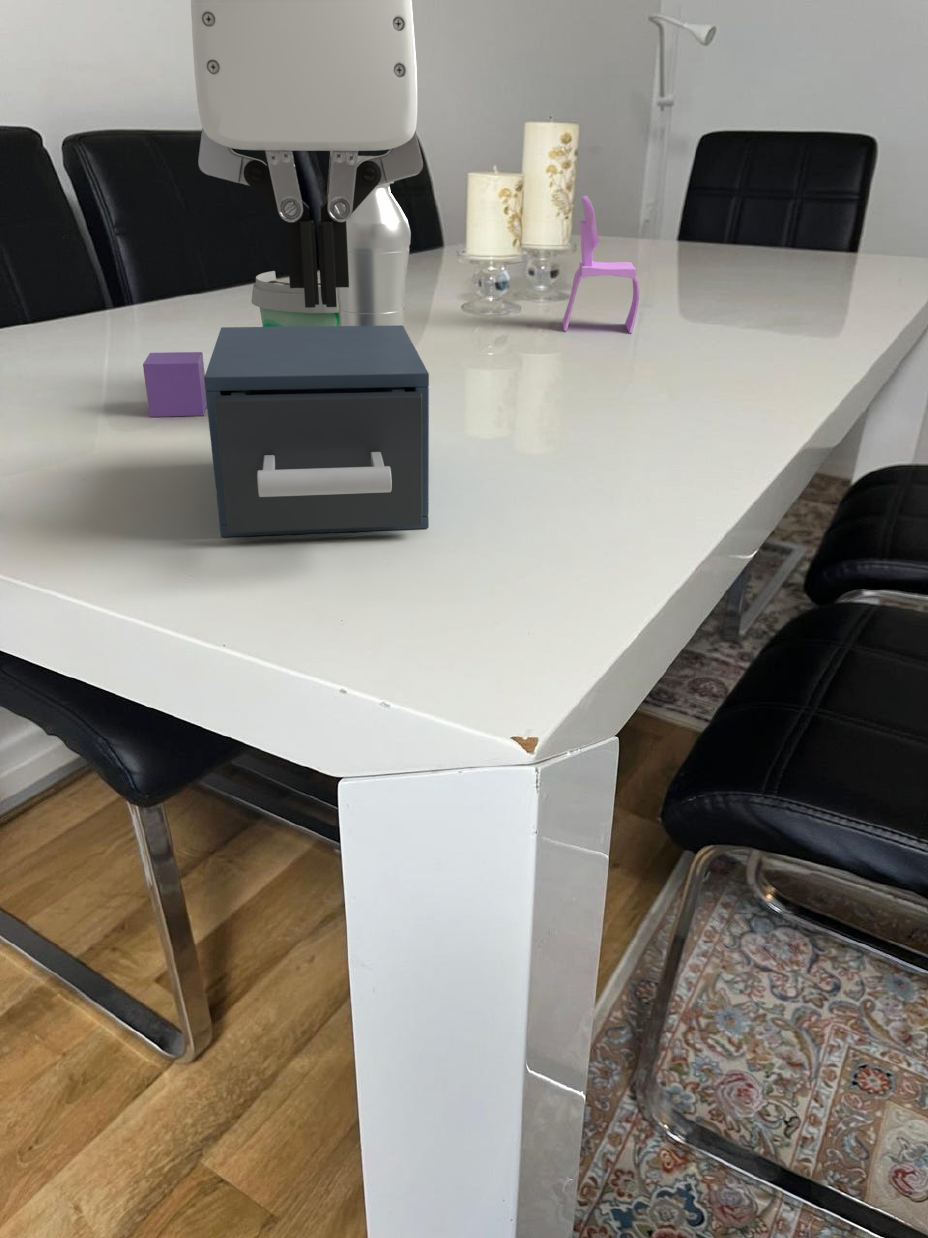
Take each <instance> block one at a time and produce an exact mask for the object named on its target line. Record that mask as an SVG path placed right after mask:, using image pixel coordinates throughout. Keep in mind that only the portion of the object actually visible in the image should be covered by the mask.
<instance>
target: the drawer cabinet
mask: <svg viewBox="0 0 928 1238" xmlns="http://www.w3.org/2000/svg"><path fill="white" fill-rule="evenodd" d="M204 382H205V390H206V401H207V406H206V409H207V418H208V427H209V437H210V444H211V445H210V447H211V456H212V465H213V477H214V484H215V485H214V486H215V493H216V494H215V495H216V503H217V514H218V523H219V532H220V537H221V538H226V537H227V538H228V537H253V536H274V535H275V536H276V535H278V536H279V535H300V534H301V535H302V534H321V533H322V534H324V533H325V534H326V533H346V532H348V533H349V532H350V533H351V532H367V531H368V532H371V531H372V532H373V531H394V530H417V529H420V530H421V529H422V530H423V529H429V525H430V524H429V522H430V521H429V520H430V519H429V517H430V516H429V515H430V513H429V511H430V508H429V507H430V506H429V505H430V503H429V502H430V500H429V499H430V497H429V496H430V493H429V492H430V489H429V486H430V477H429V476H430V466H429V465H430V459H429V458H430V456H429V455H430V451H429V450H430V446H429V445H430V418H429V417H430V388H429V387H430V373H429V371H428V369H427V368H426V365H425V363H424V361H423V360H422V358H421V356H420V355H419V353H418V350H417V349H416V347H415V345H414V343H413V341H412V340H411V338H410V336H409V334H408V332H407V330H406V328H405V325H404V326H403V325H400V326H305V327H263V326H231V327H229V326H228V327H227V326H226V327H225V326H223V327H220V330H219V333H218V335H217V339H216V342H215V345H214V348H213V350H212V354H211V356H210V360H209V363H208V365H207V368H206V371H205V377H204ZM396 387H404V389H405V392H420V394H421V396H422V525H416V526H392V527H368V528H343V529H319V530H295V531H271V532H247V533H228V528H227V518H226V508H225V499H224V489H223V479H222V469H221V459H220V449H219V439H218V429H217V420H216V410H215V399H216V396H229V395H231V391H247V390H297V389H347V388H396Z"/></svg>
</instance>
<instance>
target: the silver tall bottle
mask: <svg viewBox="0 0 928 1238" xmlns="http://www.w3.org/2000/svg"><path fill="white" fill-rule="evenodd" d="M377 156H378V155H358V159H357V164H358V163H359V162H360V161H362V160H366V159H370V158H374V157H377ZM394 183H395V181H393V182H390V183H385V184H381V185H378V186H376V187H375V188H374V189H373V190H372V191H371V193H370V194H369V195H368V196H367V197H366V198H365V199H364V201H363V202H362V203H361V204H360V205H359V206H358V207H357V208H356V210H355V211H354V212H353V213H352V215H351V216H350V218H349V219H348V220H347V221H346V226H347V249H348V271H349V287H343V288H337V297H338V302H339V308H338V309H339V326H400V325H403V326H404V327H405V307H404V305H405V304H404V303H405V301H406V280H407V272H408V265H409V258H410V257H409V256H410V245H411V238H412V237H411V236H412V232H411V228H410V224H409V221H408V218H407V217H406V215H405V213H404V211H403V209H402V207H401V206H400V204H399V203H398V201H397V200H396V198H395V197H394V195H393V194H392V193H391V187H390V185H391V184H394Z"/></svg>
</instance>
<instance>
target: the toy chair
mask: <svg viewBox="0 0 928 1238" xmlns="http://www.w3.org/2000/svg"><path fill="white" fill-rule="evenodd" d="M581 203H582V208H583V209H582V210H583V214H584V215H583V216H584V220H580V221H579V228H580V247H581V250H580V251H581V260H579V266H578V267H579V268H578V269H577V270H576V271H575V273H574V277H573V280H572V285H571V291H570V295H569V299H568V304H567V306H566V310H565V313H564V316H563V319H562V328H563V331H564V332H567V331H568V328H569V324H570V319H571V316H572V312H573V307H574V304H575V299H576V295H577V292H578V289H579V285H580V283H581V281H582V280H583V279H585V278H588V277H589V278H590V277H602V276H610V277H611V276H612V277H620V278H628V279H631V280H632V301H631V305H630V308H629V312H628V315H627V317H626V320H625V323H624V325H625V327H626V330H627V332H628V333H629V334H633V332H634V328H635V323H636V319H637V316H638V315H637V314H638V310H639V304H640V281H639V279H638V278H637V268H636V267H635V266H634V264H633V262H631V261H614V262H613V261H611V262H608V261H607V262H606V261H594V260H593V257H594V250H595V248H597V247H598V246H599V243H600V238H599V235H598V230H597V224H596V214H595V210H594V206H593V204H592V202H591V200H590V198H589V197H588V195H582V196H581Z"/></svg>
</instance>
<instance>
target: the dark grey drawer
mask: <svg viewBox="0 0 928 1238" xmlns="http://www.w3.org/2000/svg"><path fill="white" fill-rule="evenodd" d="M215 410H216V420H217V429H218V439H219V449H220V459H221V469H222V479H223V489H224V499H225V508H226V518H227V528H228V533H247V532H271V531H295V530H319V529H343V528H368V527H392V526H416V525H422V396H421V394H420V392H405V389H404V387H396V388H347V389H297V390H247V391H231V395H229V396H216V399H215Z"/></svg>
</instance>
